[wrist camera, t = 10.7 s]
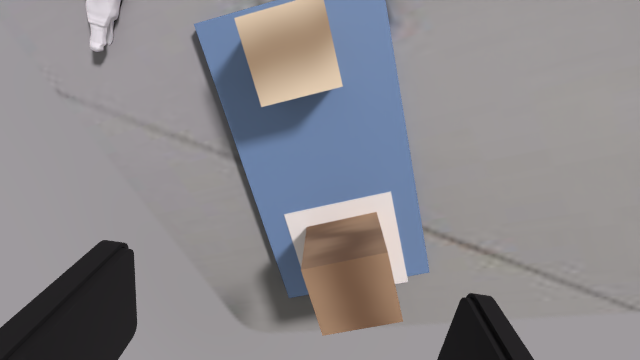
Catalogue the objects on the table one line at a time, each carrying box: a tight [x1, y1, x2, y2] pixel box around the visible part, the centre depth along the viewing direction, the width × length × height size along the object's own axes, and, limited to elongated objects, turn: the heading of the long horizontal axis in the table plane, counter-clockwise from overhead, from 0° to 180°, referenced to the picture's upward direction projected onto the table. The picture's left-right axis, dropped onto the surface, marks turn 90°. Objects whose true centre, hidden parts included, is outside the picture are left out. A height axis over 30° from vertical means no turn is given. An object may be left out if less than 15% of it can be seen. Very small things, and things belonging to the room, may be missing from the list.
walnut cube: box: [301, 212, 403, 335], centre depth 27 cm, size 6×6×6 cm
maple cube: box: [234, 0, 343, 107], centre depth 22 cm, size 5×5×5 cm
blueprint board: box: [194, 0, 429, 298], centre depth 27 cm, size 24×13×1 cm, turn 14°
